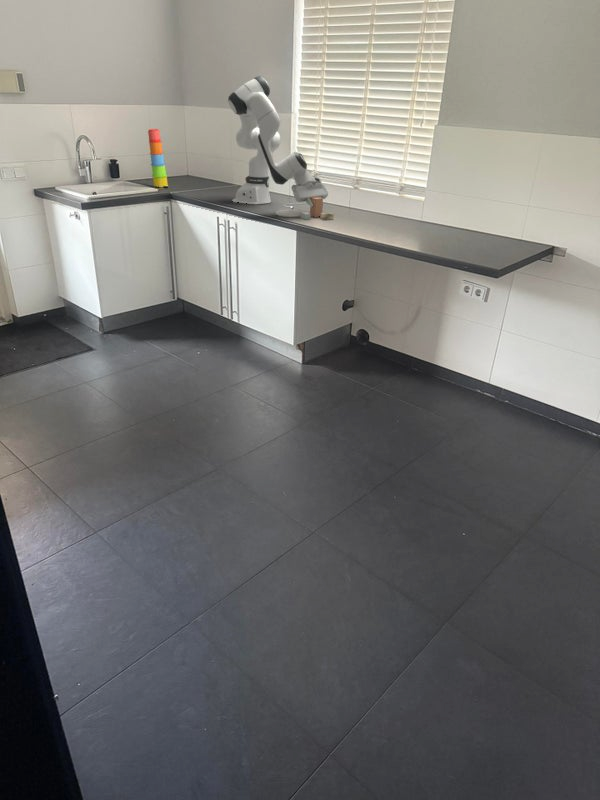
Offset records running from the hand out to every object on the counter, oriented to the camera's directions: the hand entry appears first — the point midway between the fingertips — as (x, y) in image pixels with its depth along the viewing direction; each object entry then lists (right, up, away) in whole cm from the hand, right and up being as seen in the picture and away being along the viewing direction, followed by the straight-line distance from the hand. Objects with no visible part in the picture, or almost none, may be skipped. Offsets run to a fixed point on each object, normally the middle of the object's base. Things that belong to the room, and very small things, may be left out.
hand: (317, 206), depth 293 cm
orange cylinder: (0, -4, +3) cm, 5 cm away
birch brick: (+5, -8, -4) cm, 10 cm away
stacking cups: (-100, +39, +78) cm, 133 cm away
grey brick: (-6, -7, -3) cm, 10 cm away
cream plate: (-14, -3, +5) cm, 15 cm away
